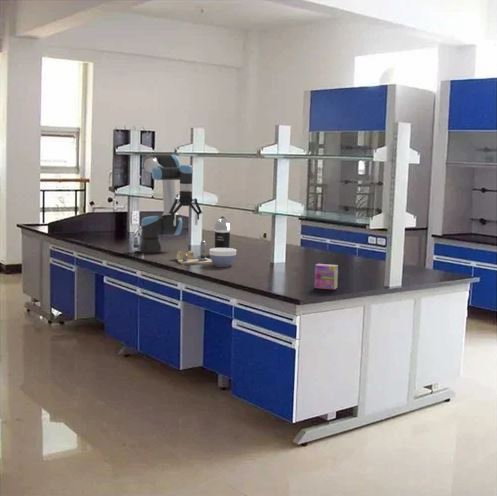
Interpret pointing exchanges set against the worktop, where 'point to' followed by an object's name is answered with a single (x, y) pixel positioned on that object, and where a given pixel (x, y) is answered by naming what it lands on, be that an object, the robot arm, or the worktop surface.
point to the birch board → (195, 262)
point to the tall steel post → (203, 251)
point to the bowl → (222, 256)
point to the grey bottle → (222, 233)
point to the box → (326, 276)
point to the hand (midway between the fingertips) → (185, 225)
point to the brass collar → (180, 253)
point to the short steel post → (185, 257)
